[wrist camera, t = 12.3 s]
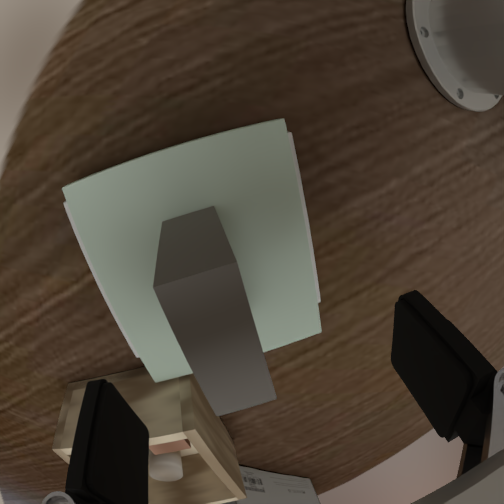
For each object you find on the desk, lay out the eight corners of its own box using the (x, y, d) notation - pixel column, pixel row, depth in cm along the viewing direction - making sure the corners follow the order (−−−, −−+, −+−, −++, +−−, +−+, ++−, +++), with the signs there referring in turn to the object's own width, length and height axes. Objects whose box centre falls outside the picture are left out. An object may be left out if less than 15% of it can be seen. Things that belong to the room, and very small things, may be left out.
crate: (187, 355, 23) (195, 429, 17) (233, 441, 28) (247, 497, 22) (68, 383, 22) (51, 449, 16) (136, 460, 27) (137, 514, 21)
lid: (273, 118, 17) (352, 119, 9) (311, 316, 23) (368, 404, 15) (73, 181, 16) (-4, 233, 8) (155, 363, 22) (156, 467, 14)
